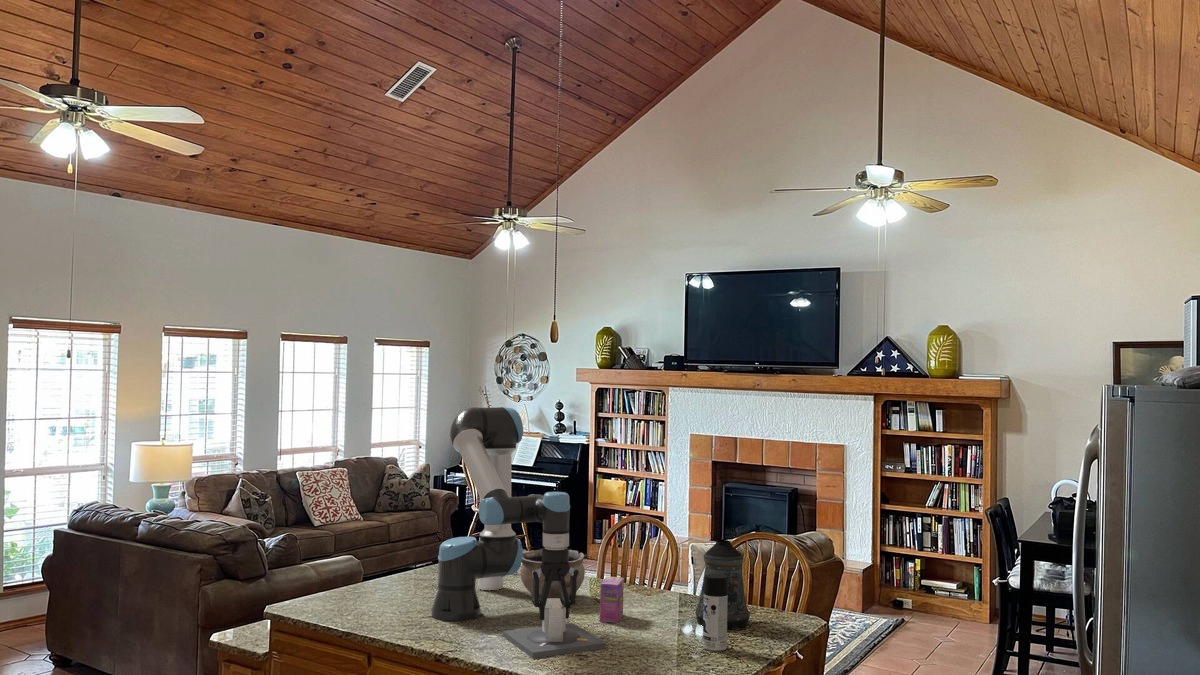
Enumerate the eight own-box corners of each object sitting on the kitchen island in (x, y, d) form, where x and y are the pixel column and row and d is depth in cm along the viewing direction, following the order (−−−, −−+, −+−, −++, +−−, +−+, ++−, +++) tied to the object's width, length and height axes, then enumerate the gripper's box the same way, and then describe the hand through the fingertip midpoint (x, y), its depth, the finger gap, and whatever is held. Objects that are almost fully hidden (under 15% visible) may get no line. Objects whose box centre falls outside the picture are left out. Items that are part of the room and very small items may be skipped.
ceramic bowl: (596, 597, 303) (597, 553, 304) (560, 610, 285) (561, 563, 285) (544, 588, 315) (545, 545, 316) (506, 600, 296) (507, 555, 297)
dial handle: (545, 629, 255) (545, 596, 256) (559, 629, 256) (559, 596, 256) (548, 642, 244) (548, 607, 244) (562, 641, 244) (563, 606, 245)
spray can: (700, 644, 250) (701, 573, 251) (724, 644, 250) (725, 573, 252) (705, 652, 243) (706, 578, 244) (729, 651, 244) (730, 578, 245)
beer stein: (713, 633, 262) (714, 547, 263) (681, 616, 280) (682, 536, 281) (760, 627, 269) (761, 544, 270) (726, 612, 286) (727, 534, 288)
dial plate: (502, 636, 254) (503, 630, 255) (572, 628, 264) (572, 622, 264) (532, 658, 235) (532, 651, 235) (606, 648, 245) (606, 642, 245)
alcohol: (478, 585, 317) (480, 501, 318) (502, 585, 318) (505, 501, 319) (477, 591, 308) (479, 504, 310) (503, 591, 309) (505, 504, 310)
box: (617, 623, 270) (618, 584, 271) (599, 622, 272) (600, 583, 272) (623, 615, 281) (624, 577, 281) (605, 613, 282) (606, 576, 282)
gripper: (527, 551, 245) (525, 636, 244) (589, 548, 250) (587, 632, 249) (522, 546, 252) (520, 629, 251) (581, 544, 257) (580, 625, 256)
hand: (553, 630), depth 250 cm, fingers closed on dial handle, 5 cm apart
